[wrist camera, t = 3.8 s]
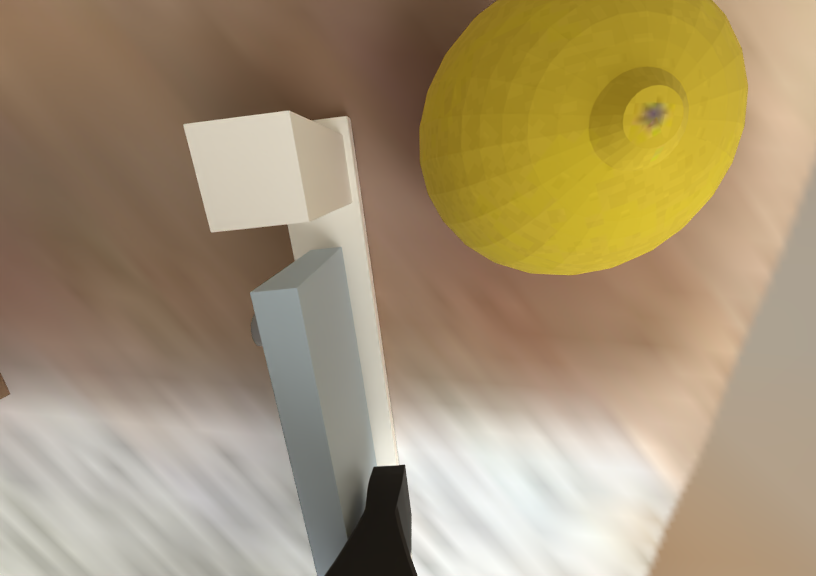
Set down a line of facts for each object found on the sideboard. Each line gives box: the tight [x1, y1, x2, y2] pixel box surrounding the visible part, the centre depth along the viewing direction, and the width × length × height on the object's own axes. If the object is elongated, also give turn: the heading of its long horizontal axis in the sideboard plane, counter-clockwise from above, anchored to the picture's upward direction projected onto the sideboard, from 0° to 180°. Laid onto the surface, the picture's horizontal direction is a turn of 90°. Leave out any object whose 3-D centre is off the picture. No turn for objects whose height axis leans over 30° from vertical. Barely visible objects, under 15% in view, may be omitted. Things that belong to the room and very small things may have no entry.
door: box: [250, 247, 377, 576], centre depth 12 cm, size 12×2×5 cm, turn 6°
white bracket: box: [183, 111, 412, 559], centre depth 12 cm, size 18×2×5 cm, turn 6°
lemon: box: [419, 0, 748, 275], centre depth 8 cm, size 6×6×8 cm
